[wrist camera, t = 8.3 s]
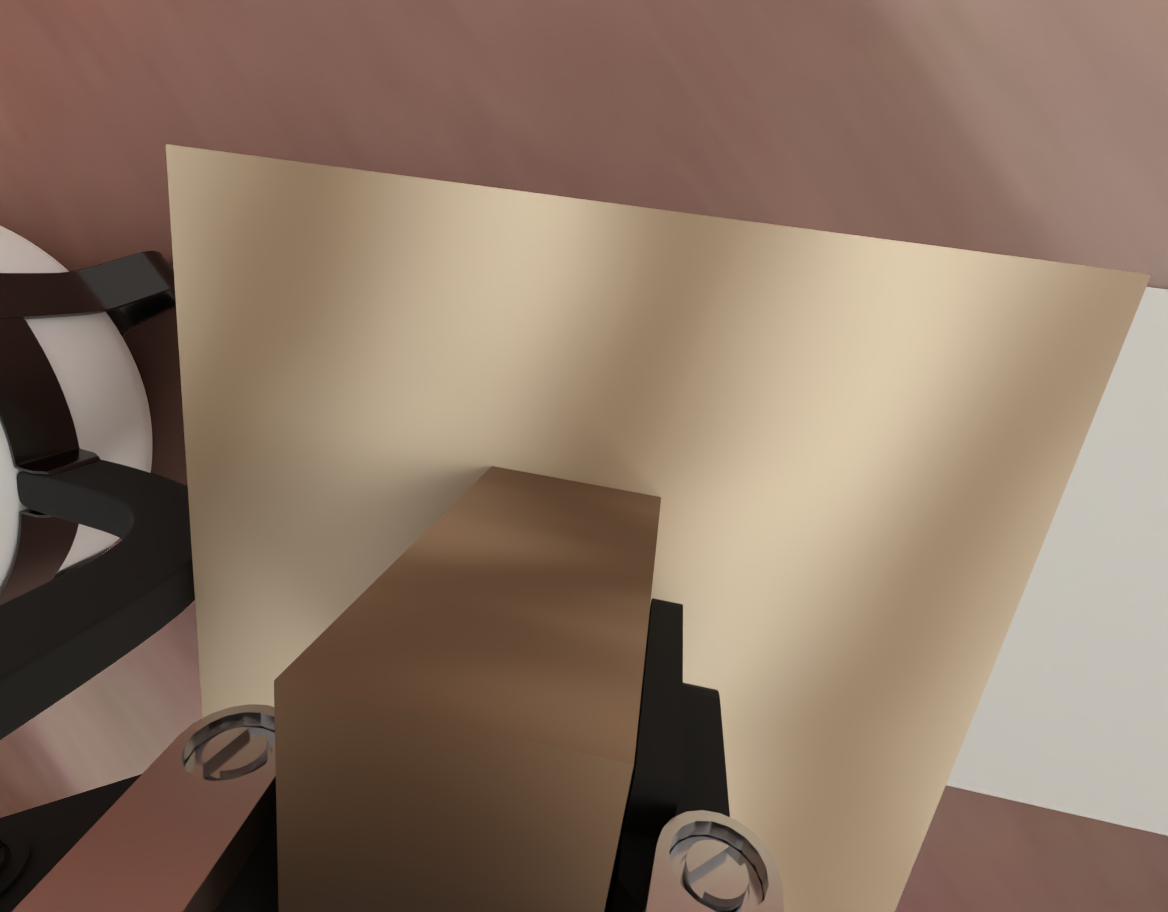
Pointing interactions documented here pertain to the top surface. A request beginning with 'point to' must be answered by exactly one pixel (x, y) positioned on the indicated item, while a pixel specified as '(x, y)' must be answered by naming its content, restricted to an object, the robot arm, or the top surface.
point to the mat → (1093, 621)
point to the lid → (604, 516)
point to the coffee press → (79, 477)
